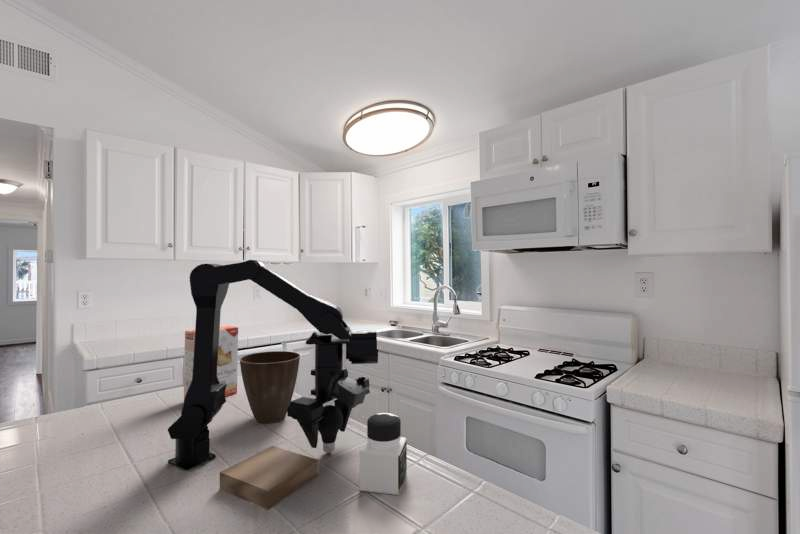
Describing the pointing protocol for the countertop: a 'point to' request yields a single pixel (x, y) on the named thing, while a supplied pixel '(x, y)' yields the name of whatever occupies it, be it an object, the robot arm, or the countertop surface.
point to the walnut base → (268, 476)
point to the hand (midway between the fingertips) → (328, 439)
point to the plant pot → (269, 383)
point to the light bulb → (330, 427)
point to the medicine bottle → (383, 455)
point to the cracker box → (225, 358)
